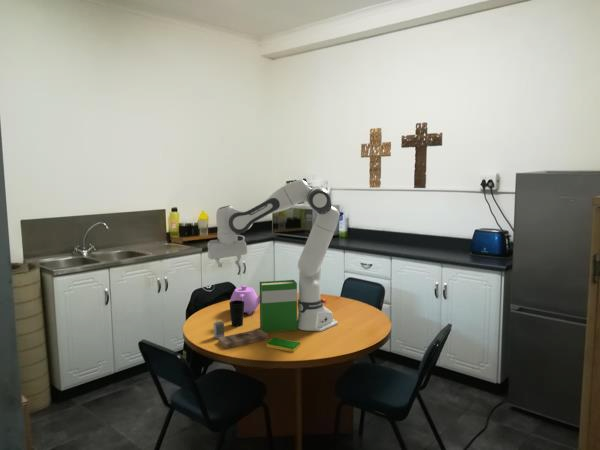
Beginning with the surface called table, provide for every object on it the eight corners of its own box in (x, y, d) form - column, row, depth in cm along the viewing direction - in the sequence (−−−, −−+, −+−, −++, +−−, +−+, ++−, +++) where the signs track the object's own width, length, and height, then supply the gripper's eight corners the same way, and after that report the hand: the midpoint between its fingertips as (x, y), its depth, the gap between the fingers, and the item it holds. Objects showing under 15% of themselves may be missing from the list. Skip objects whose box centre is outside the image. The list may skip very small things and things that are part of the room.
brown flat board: (260, 333, 227) (260, 328, 227) (268, 339, 219) (268, 334, 219) (218, 342, 215) (218, 337, 215) (226, 348, 208) (225, 343, 207)
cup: (230, 328, 235) (230, 305, 233) (228, 323, 242) (228, 300, 240) (245, 326, 237) (245, 303, 235) (243, 321, 244) (243, 299, 242)
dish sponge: (273, 342, 217) (273, 337, 216) (300, 347, 211) (300, 342, 210) (266, 347, 210) (266, 342, 210) (293, 353, 204) (293, 347, 204)
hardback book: (262, 332, 228) (261, 285, 225) (260, 327, 235) (259, 281, 232) (297, 329, 232) (296, 283, 229) (293, 324, 239) (293, 279, 236)
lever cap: (221, 335, 224) (221, 319, 223) (224, 337, 222) (223, 321, 221) (214, 336, 222) (213, 321, 221) (216, 338, 220) (215, 322, 219)
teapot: (263, 318, 249) (263, 291, 248) (226, 318, 250) (226, 291, 248) (266, 307, 269) (266, 282, 267) (232, 307, 269) (232, 282, 267)
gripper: (209, 241, 222) (211, 269, 223) (247, 236, 233) (249, 263, 234) (204, 240, 227) (206, 268, 229) (242, 235, 238) (244, 262, 239)
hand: (228, 265), depth 231 cm, fingers open, 8 cm apart
